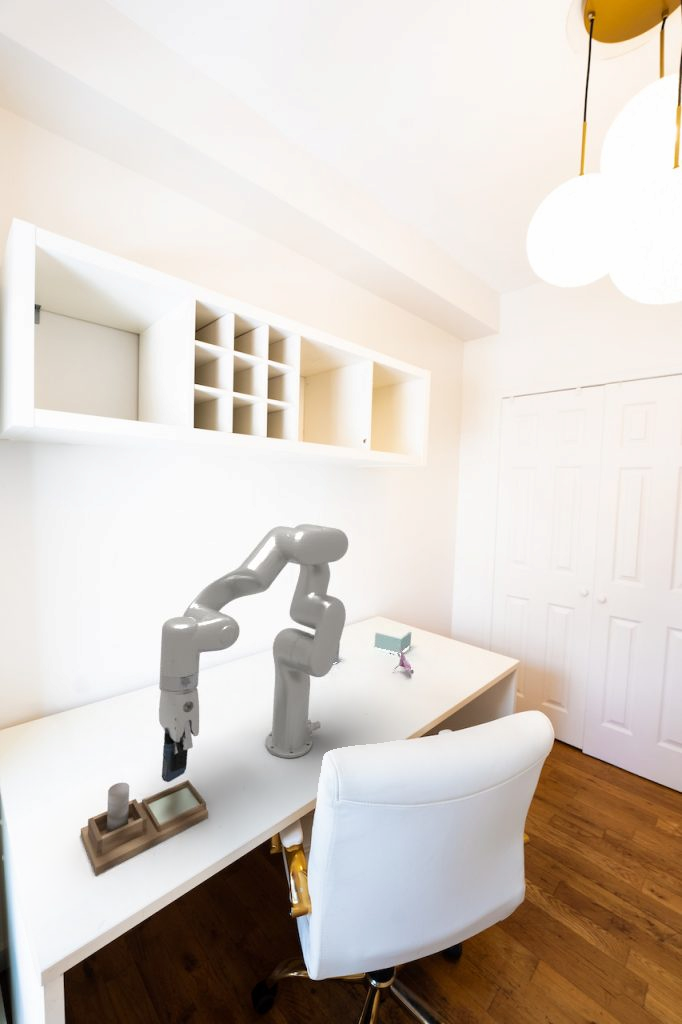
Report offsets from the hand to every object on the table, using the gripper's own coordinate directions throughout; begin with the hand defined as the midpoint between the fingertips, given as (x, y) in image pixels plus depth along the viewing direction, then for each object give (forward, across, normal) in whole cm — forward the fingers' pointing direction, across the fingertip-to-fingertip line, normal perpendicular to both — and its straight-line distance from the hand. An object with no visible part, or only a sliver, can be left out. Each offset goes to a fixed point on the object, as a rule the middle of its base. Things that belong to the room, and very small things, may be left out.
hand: (175, 763), depth 90 cm
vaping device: (+3, 0, 0) cm, 3 cm away
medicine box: (+11, +40, -79) cm, 89 cm away
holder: (+11, 0, +5) cm, 12 cm away
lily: (+11, +15, -95) cm, 97 cm away
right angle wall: (+10, +34, -111) cm, 116 cm away
